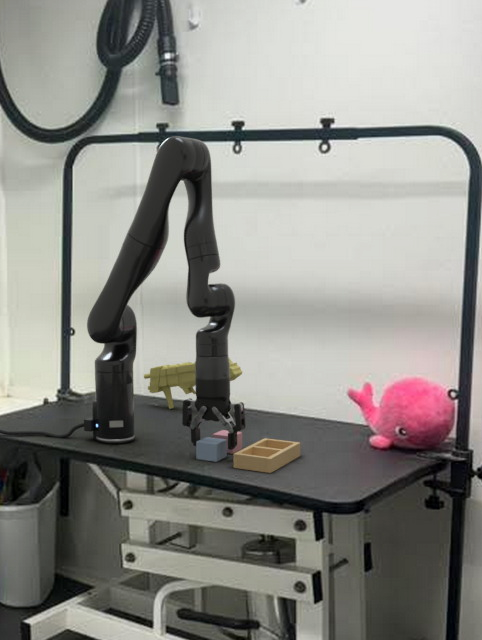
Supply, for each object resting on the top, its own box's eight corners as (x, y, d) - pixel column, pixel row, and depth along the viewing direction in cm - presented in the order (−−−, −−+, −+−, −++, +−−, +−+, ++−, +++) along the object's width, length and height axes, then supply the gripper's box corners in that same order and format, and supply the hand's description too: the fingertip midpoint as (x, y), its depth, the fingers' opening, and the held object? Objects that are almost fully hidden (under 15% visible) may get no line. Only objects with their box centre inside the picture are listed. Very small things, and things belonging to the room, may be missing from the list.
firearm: (158, 419, 268) (148, 367, 268) (249, 407, 249) (238, 352, 248) (149, 422, 265) (139, 370, 264) (241, 410, 246) (230, 354, 245)
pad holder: (233, 467, 200) (233, 453, 200) (264, 451, 213) (264, 438, 212) (270, 473, 195) (270, 458, 195) (300, 456, 208) (300, 442, 207)
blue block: (196, 459, 208) (196, 441, 207) (206, 454, 212) (206, 436, 211) (216, 462, 205) (216, 444, 205) (226, 456, 209) (226, 439, 208)
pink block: (212, 451, 214) (212, 434, 214) (222, 446, 218) (222, 429, 218) (232, 453, 212) (232, 436, 211) (242, 449, 216) (242, 432, 215)
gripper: (249, 374, 204) (250, 446, 207) (191, 370, 213) (193, 440, 215) (234, 379, 198) (236, 454, 201) (175, 376, 207) (177, 447, 209)
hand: (213, 447), depth 208 cm, fingers open, 8 cm apart
